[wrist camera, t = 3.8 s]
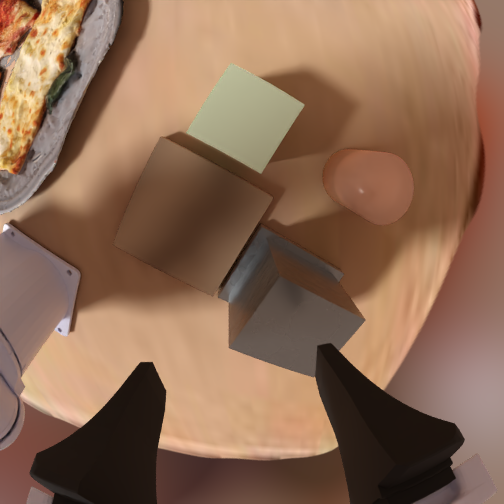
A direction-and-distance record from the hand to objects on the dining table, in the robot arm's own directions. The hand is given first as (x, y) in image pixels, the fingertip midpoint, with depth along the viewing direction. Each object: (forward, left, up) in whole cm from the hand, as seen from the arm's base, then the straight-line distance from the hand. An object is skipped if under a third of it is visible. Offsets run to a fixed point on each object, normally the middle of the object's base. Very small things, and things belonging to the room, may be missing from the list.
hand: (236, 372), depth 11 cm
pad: (-5, +2, -9) cm, 11 cm away
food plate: (-27, +6, -10) cm, 29 cm away
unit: (+3, +1, -9) cm, 10 cm away
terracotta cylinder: (+3, +10, -10) cm, 14 cm away
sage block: (-5, +9, -10) cm, 14 cm away
